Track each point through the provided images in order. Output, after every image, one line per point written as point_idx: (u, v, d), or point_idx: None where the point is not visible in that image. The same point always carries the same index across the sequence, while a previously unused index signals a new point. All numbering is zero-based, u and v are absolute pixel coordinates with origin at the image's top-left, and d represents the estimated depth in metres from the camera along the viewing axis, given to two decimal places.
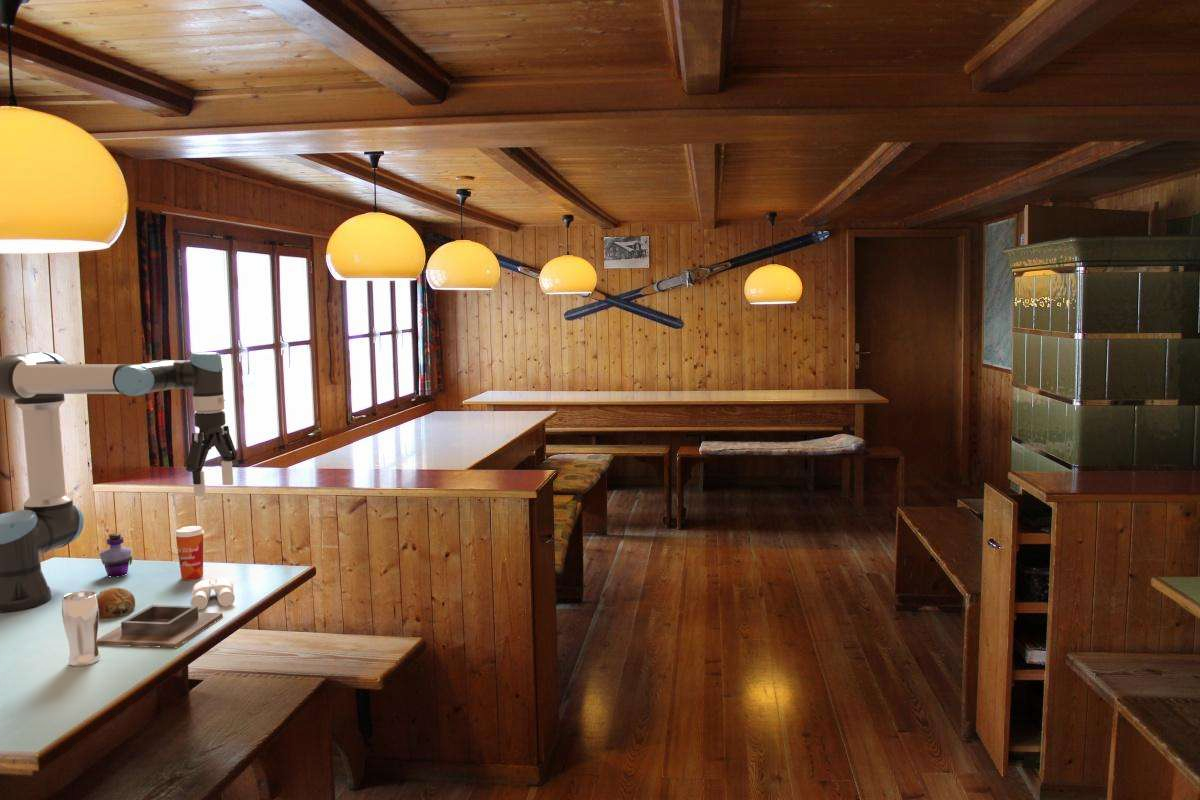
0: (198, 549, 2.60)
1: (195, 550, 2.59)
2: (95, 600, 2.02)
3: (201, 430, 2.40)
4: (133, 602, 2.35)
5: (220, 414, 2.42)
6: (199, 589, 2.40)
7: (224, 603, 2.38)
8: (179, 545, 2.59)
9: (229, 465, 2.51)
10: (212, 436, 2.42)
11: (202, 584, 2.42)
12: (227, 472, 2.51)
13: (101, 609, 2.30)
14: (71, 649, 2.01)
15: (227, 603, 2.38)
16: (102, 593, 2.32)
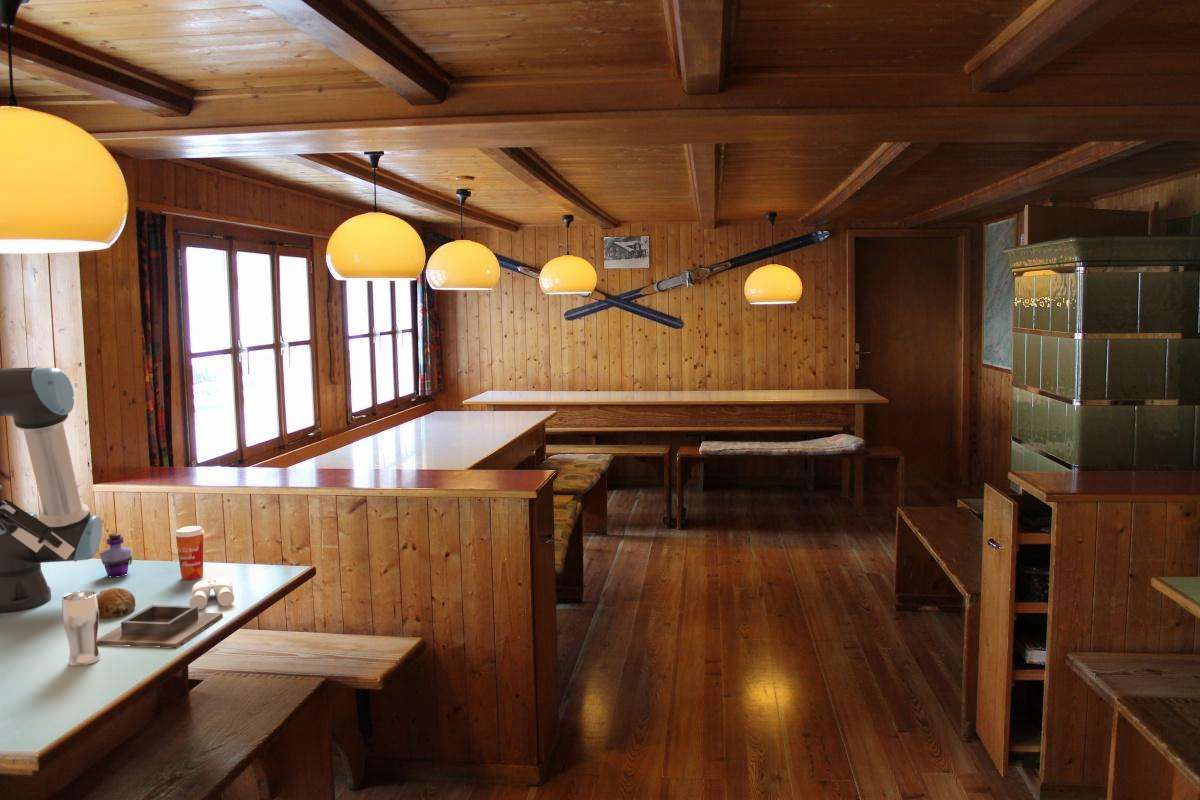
0: (198, 549, 2.60)
1: (195, 550, 2.59)
2: (95, 600, 2.02)
3: None
4: (133, 602, 2.35)
5: None
6: (198, 589, 2.40)
7: (224, 603, 2.38)
8: (179, 545, 2.59)
9: None
10: None
11: (201, 584, 2.42)
12: None
13: (101, 610, 2.29)
14: (71, 649, 2.01)
15: (227, 603, 2.38)
16: (102, 593, 2.32)
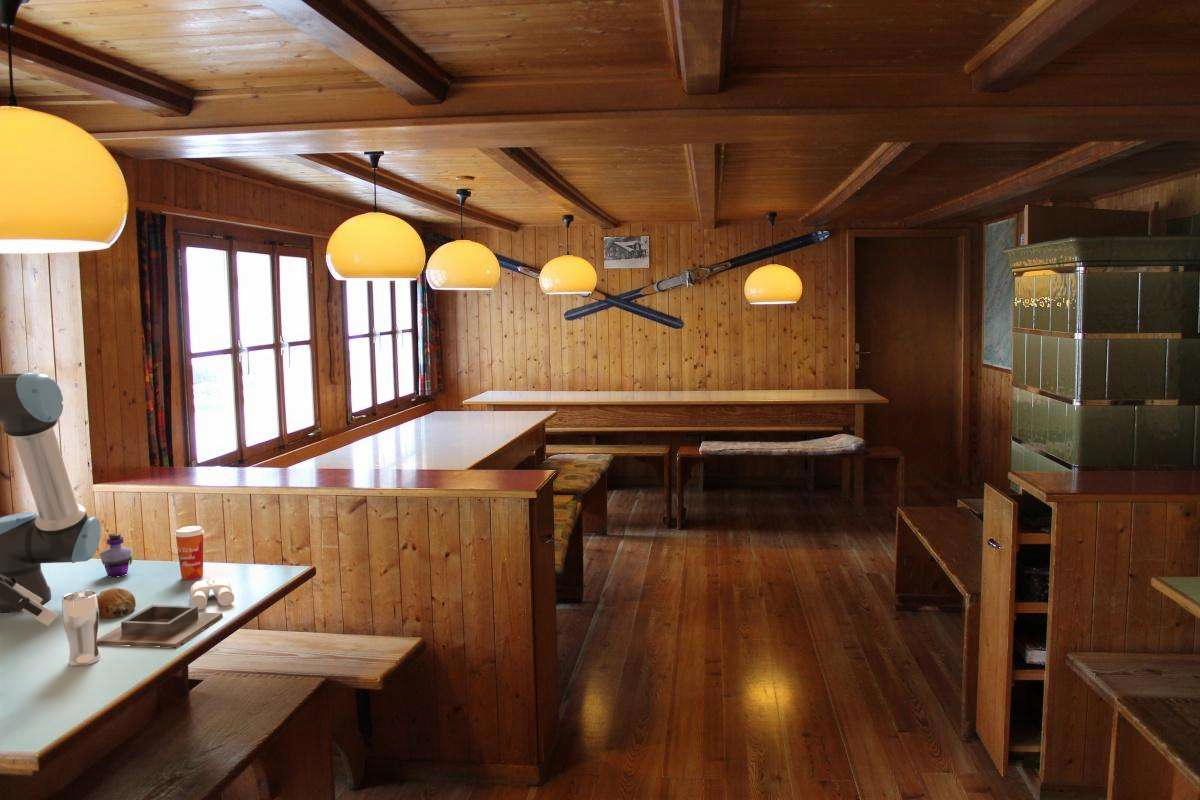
0: (198, 549, 2.60)
1: (195, 550, 2.59)
2: (95, 600, 2.02)
3: None
4: (133, 602, 2.35)
5: None
6: (198, 589, 2.40)
7: (224, 603, 2.38)
8: (179, 545, 2.59)
9: None
10: None
11: (200, 584, 2.42)
12: None
13: (101, 610, 2.29)
14: (71, 649, 2.01)
15: (227, 603, 2.38)
16: (102, 593, 2.32)
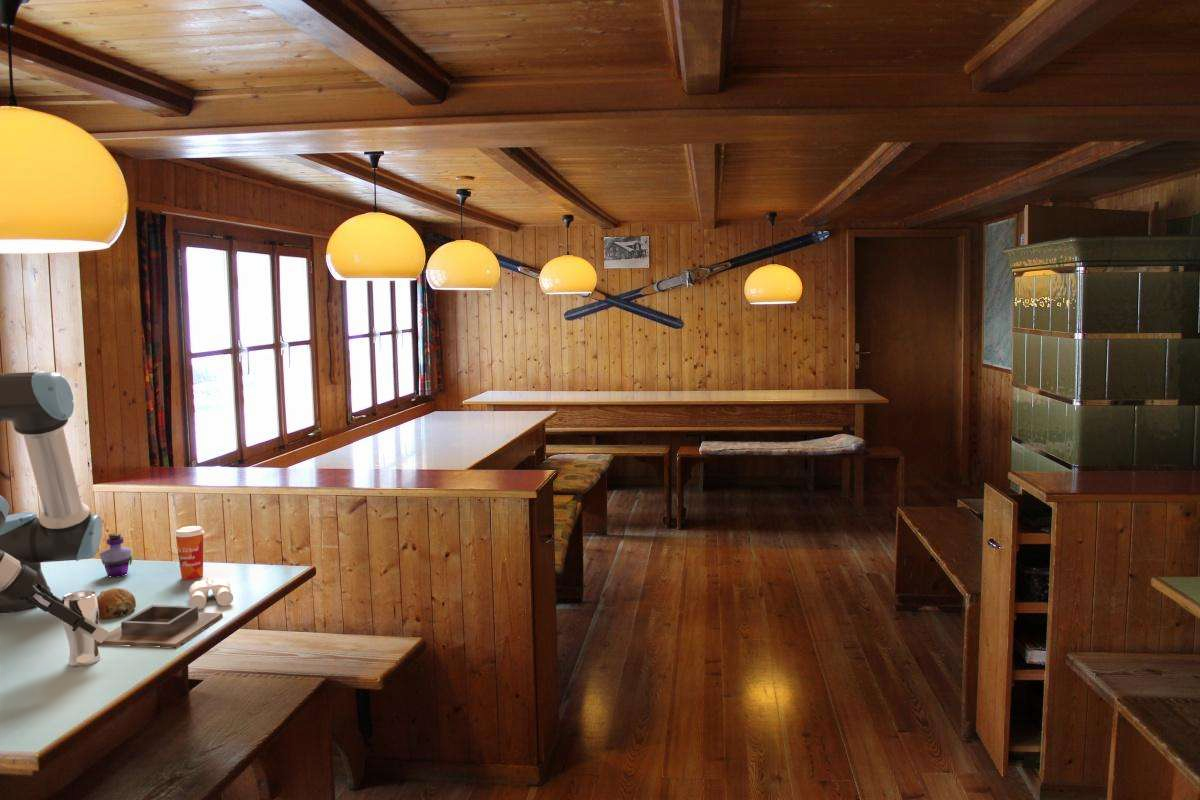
0: (198, 549, 2.60)
1: (195, 550, 2.59)
2: (95, 600, 2.02)
3: None
4: (134, 603, 2.35)
5: None
6: (197, 589, 2.40)
7: (222, 603, 2.38)
8: (179, 545, 2.59)
9: None
10: None
11: (199, 584, 2.42)
12: None
13: (102, 610, 2.29)
14: (71, 649, 2.01)
15: (225, 603, 2.38)
16: (102, 594, 2.32)
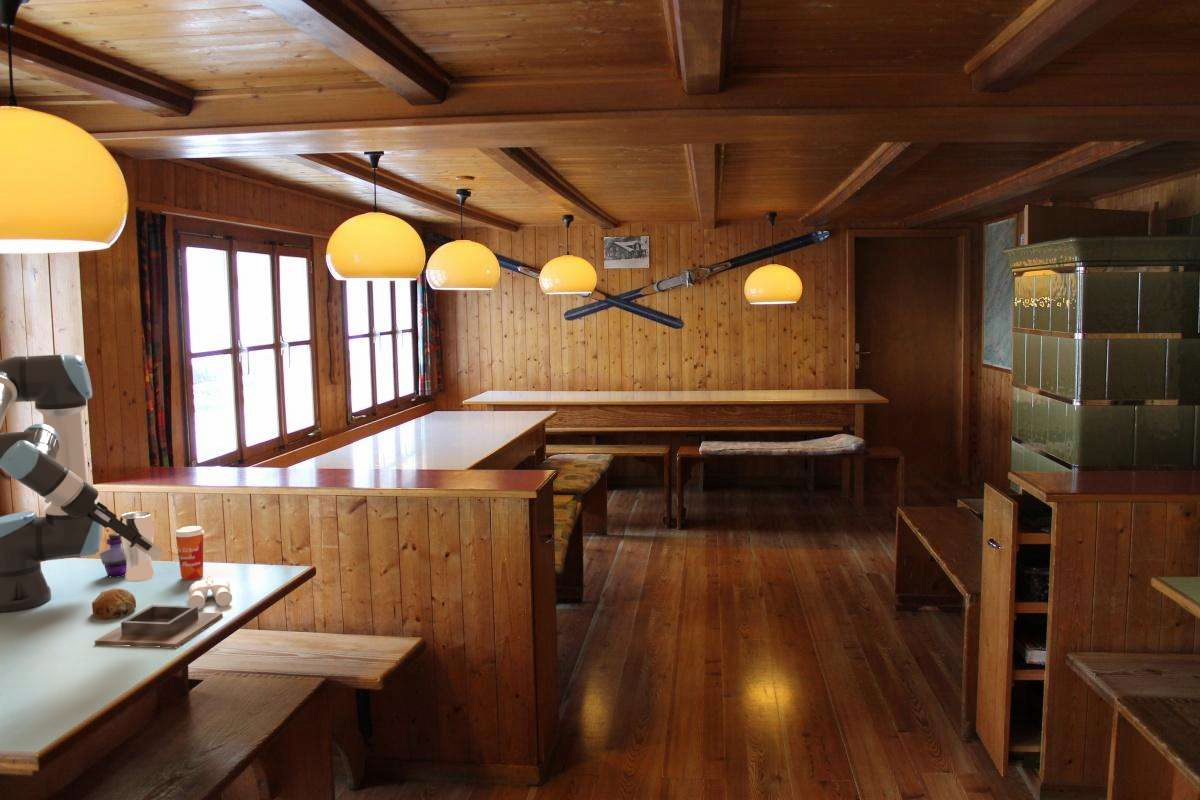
0: (198, 549, 2.60)
1: (195, 550, 2.59)
2: (151, 520, 2.13)
3: None
4: (134, 603, 2.35)
5: None
6: (196, 589, 2.40)
7: (221, 603, 2.38)
8: (179, 545, 2.59)
9: None
10: None
11: (199, 584, 2.42)
12: None
13: (102, 610, 2.29)
14: (128, 565, 2.12)
15: (224, 603, 2.38)
16: (103, 594, 2.32)
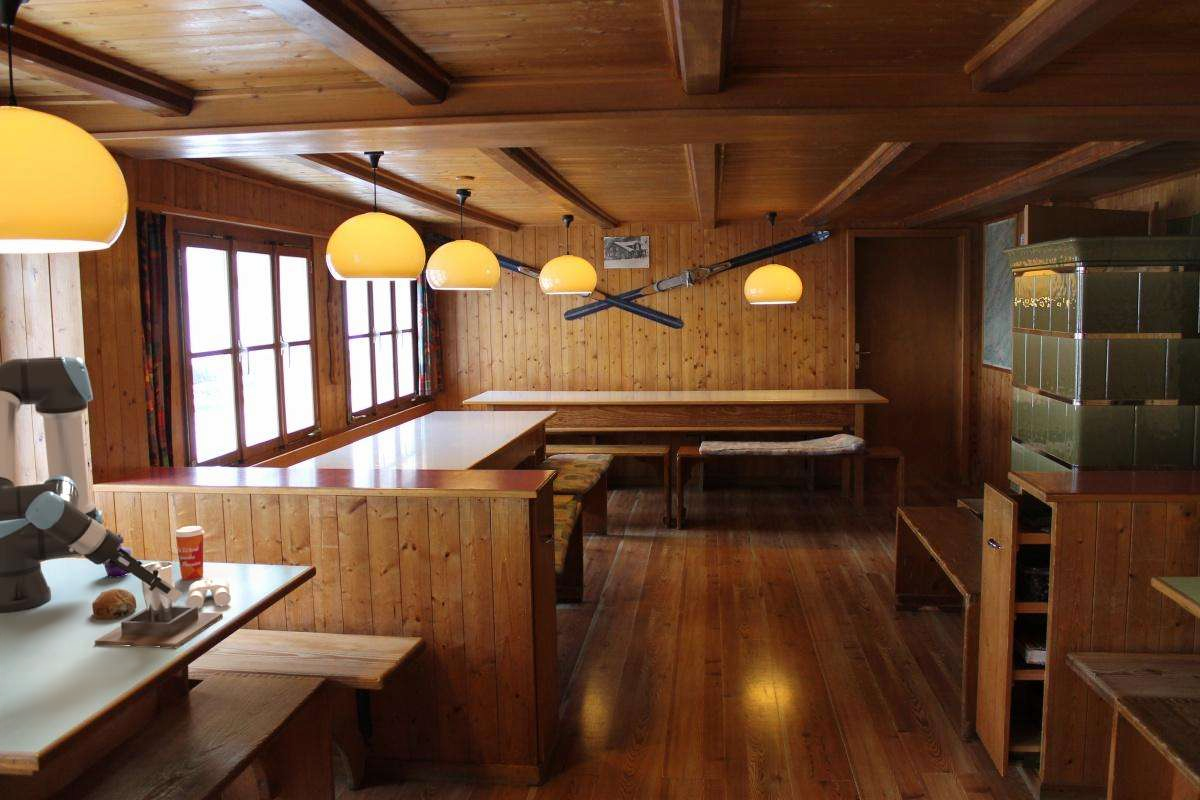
0: (198, 549, 2.60)
1: (195, 550, 2.59)
2: (171, 570, 2.20)
3: None
4: (134, 603, 2.34)
5: (85, 556, 2.09)
6: (195, 589, 2.40)
7: (220, 603, 2.38)
8: (179, 545, 2.59)
9: None
10: None
11: (198, 584, 2.42)
12: None
13: (102, 611, 2.29)
14: (150, 615, 2.18)
15: (223, 603, 2.38)
16: (103, 594, 2.31)
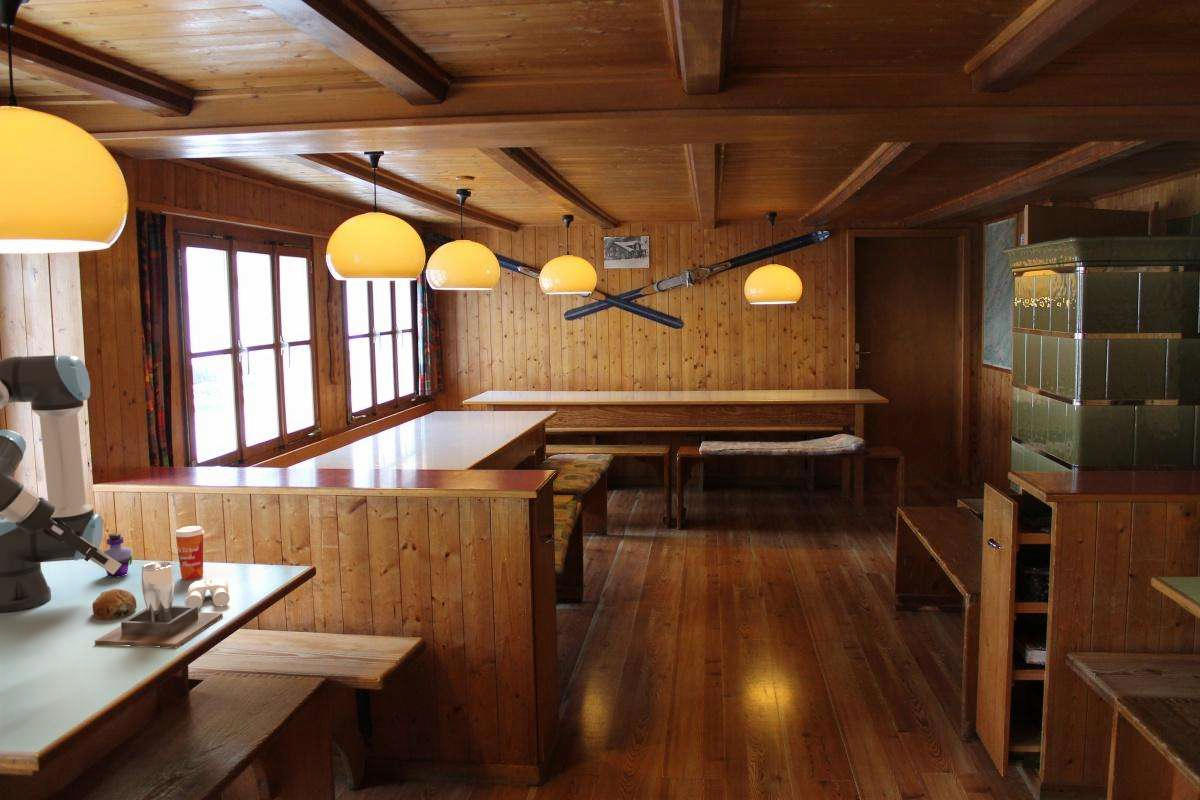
0: (198, 549, 2.60)
1: (195, 550, 2.59)
2: (171, 570, 2.20)
3: None
4: (134, 603, 2.34)
5: None
6: (194, 589, 2.40)
7: (219, 603, 2.38)
8: (179, 545, 2.59)
9: None
10: None
11: (197, 584, 2.42)
12: None
13: (102, 611, 2.28)
14: (150, 615, 2.18)
15: (222, 603, 2.38)
16: (103, 594, 2.31)
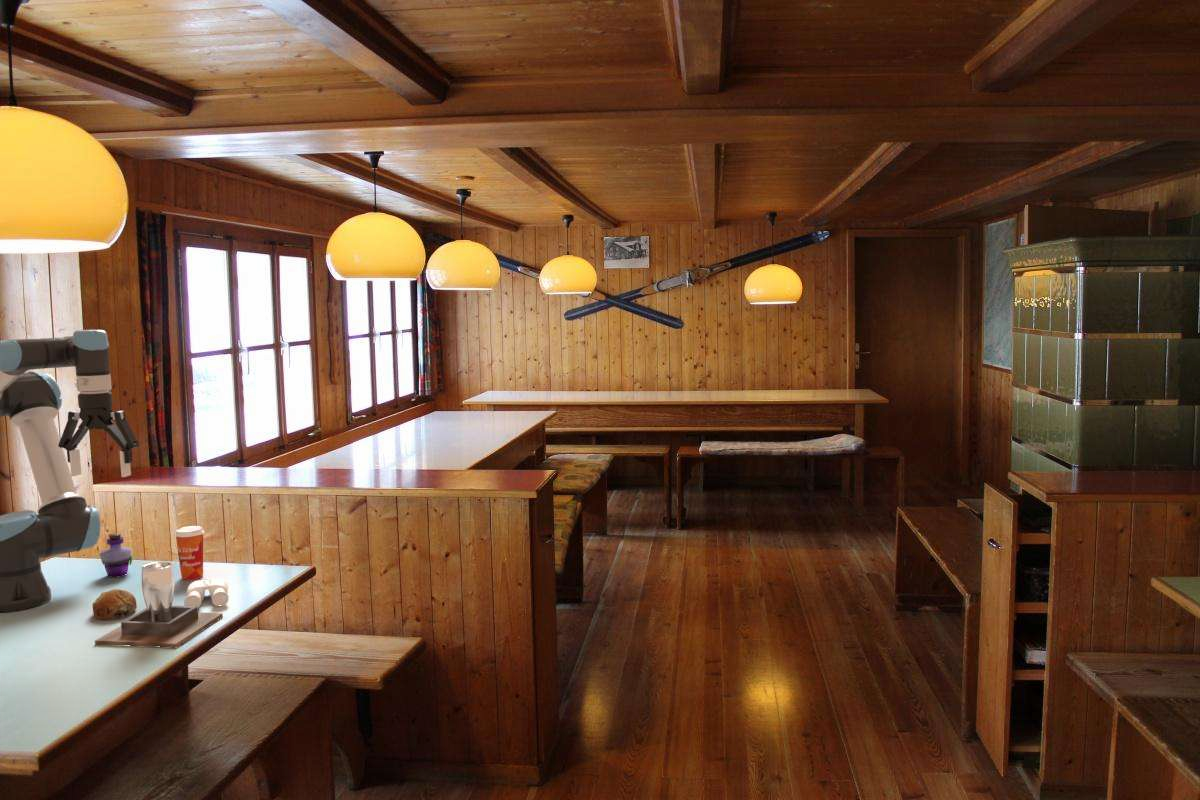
0: (198, 549, 2.60)
1: (195, 550, 2.59)
2: (171, 570, 2.20)
3: None
4: (134, 604, 2.34)
5: (82, 396, 2.27)
6: (193, 589, 2.40)
7: (218, 603, 2.38)
8: (179, 545, 2.59)
9: None
10: None
11: (196, 584, 2.42)
12: None
13: (102, 611, 2.28)
14: (150, 615, 2.18)
15: (221, 603, 2.38)
16: (103, 595, 2.31)
